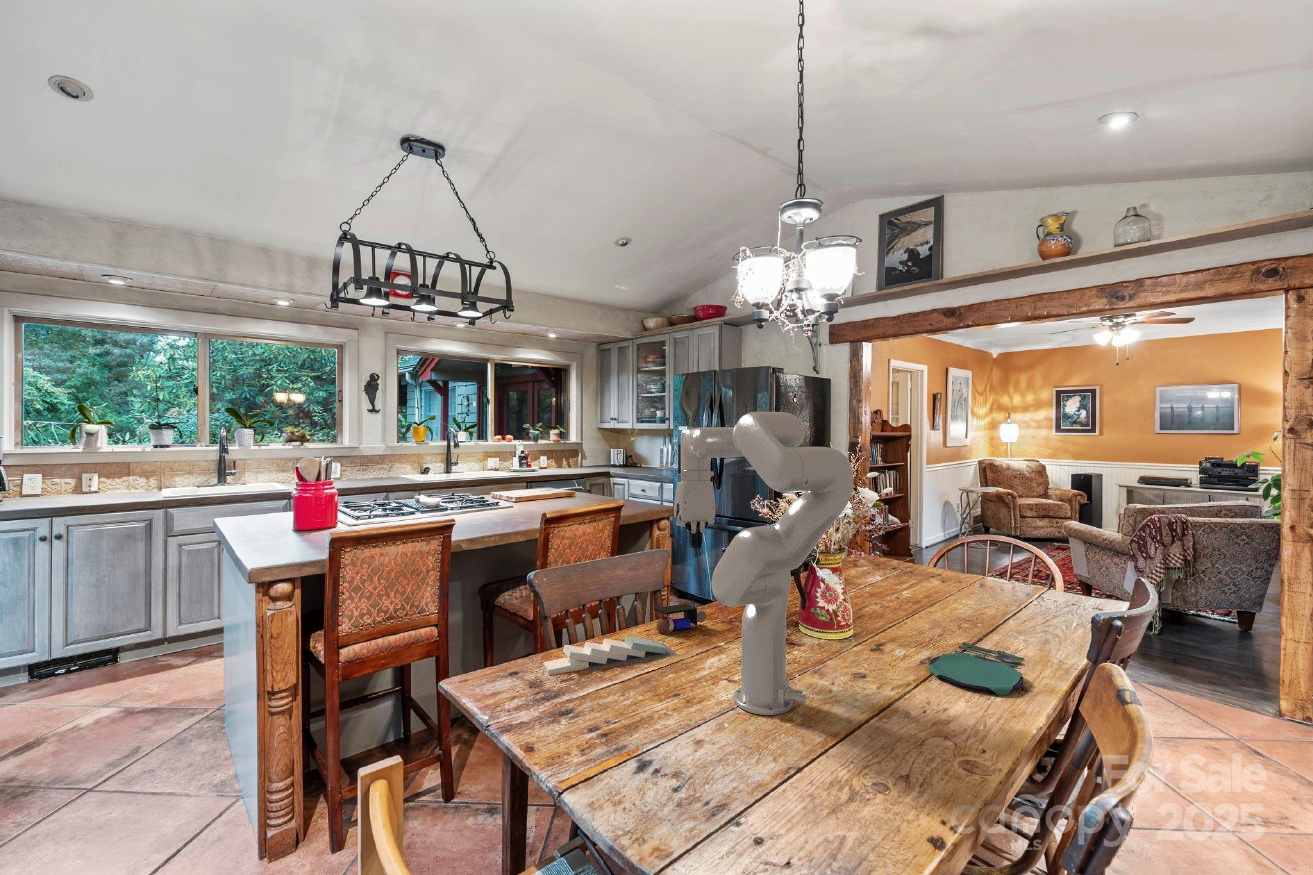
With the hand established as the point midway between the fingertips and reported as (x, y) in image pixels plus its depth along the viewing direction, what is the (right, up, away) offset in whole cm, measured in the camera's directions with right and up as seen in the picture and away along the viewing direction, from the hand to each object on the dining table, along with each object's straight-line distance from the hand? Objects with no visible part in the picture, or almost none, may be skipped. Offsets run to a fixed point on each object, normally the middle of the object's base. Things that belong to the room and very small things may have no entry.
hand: (695, 547), depth 149 cm
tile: (-9, -28, +5) cm, 29 cm away
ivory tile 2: (-19, -28, 0) cm, 33 cm away
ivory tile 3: (-24, -28, -2) cm, 36 cm away
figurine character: (-3, -29, +22) cm, 36 cm away
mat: (-17, -29, +1) cm, 34 cm away
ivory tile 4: (-28, -28, -4) cm, 39 cm away
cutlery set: (+70, -30, -7) cm, 76 cm away
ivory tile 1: (-14, -28, +2) cm, 31 cm away
